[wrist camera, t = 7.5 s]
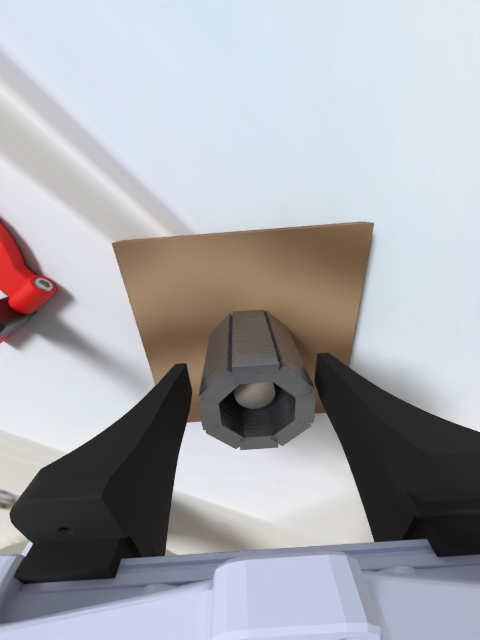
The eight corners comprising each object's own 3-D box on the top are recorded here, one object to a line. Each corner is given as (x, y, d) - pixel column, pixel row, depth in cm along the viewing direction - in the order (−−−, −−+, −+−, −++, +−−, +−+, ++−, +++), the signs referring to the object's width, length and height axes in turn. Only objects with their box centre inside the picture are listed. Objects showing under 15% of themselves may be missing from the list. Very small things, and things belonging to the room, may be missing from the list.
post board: (334, 400, 19) (370, 469, 14) (171, 411, 19) (148, 484, 14) (362, 221, 13) (445, 230, 8) (121, 240, 13) (50, 260, 8)
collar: (287, 373, 16) (310, 445, 11) (215, 378, 16) (207, 452, 11) (289, 307, 14) (320, 361, 9) (206, 313, 14) (191, 370, 9)
